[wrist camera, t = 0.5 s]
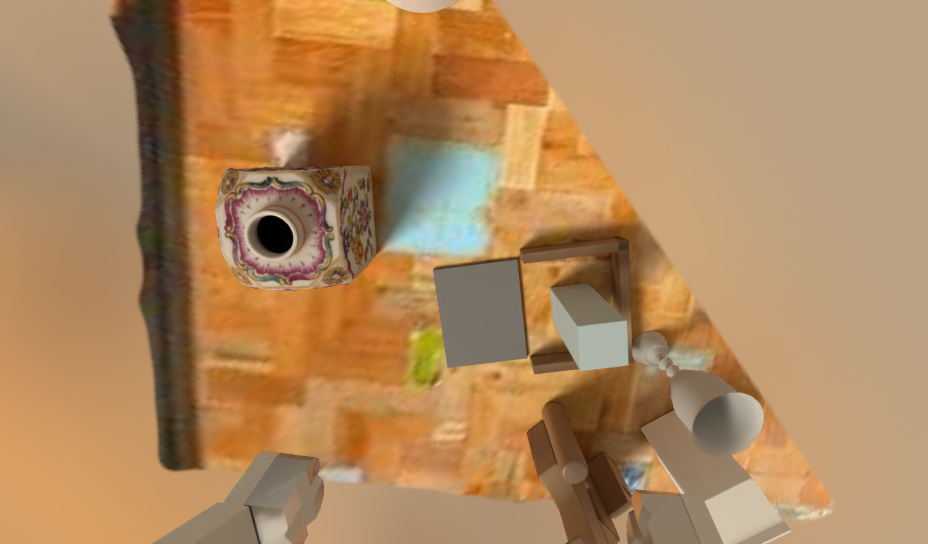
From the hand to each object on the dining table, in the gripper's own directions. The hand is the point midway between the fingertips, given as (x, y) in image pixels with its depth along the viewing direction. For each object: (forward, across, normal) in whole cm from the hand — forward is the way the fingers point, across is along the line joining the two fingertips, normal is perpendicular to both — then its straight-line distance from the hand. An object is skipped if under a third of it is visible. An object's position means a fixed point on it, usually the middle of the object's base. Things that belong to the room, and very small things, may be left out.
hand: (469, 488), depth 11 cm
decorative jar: (+43, +23, +5) cm, 49 cm away
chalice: (+46, -20, +24) cm, 55 cm away
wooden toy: (+42, -10, +39) cm, 58 cm away
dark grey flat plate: (+43, +3, +18) cm, 47 cm away
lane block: (+45, -9, +17) cm, 49 cm away
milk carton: (+44, -25, +37) cm, 63 cm away
